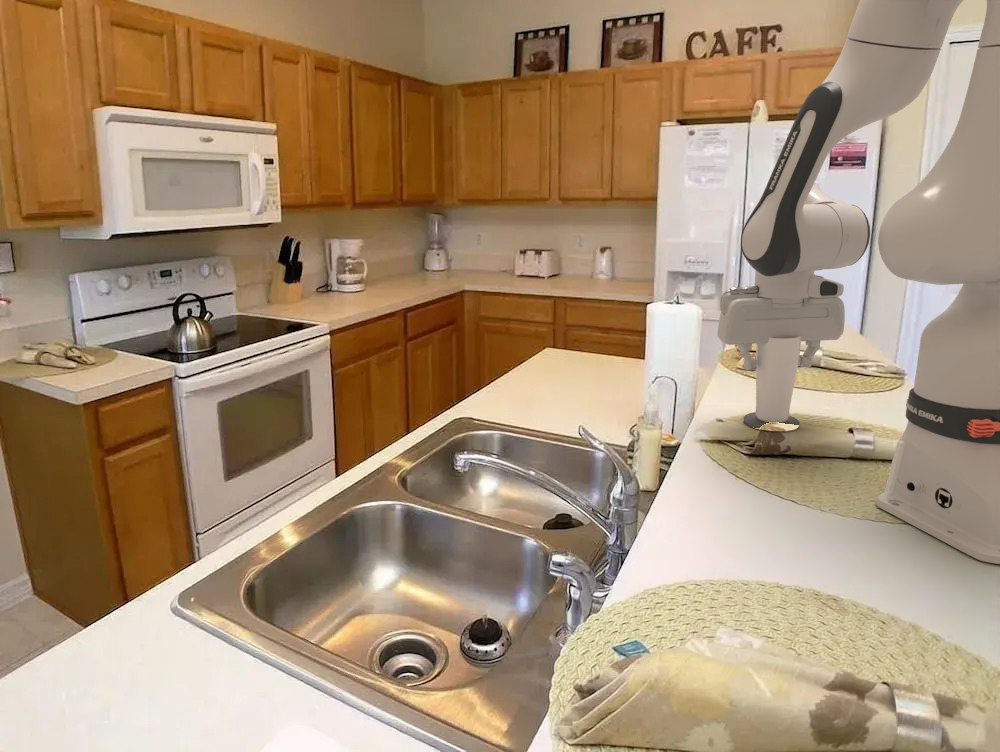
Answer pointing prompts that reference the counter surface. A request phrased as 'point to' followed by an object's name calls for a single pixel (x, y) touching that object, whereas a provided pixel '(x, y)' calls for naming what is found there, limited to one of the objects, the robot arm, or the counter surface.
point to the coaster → (756, 423)
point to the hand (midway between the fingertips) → (777, 368)
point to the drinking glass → (776, 377)
